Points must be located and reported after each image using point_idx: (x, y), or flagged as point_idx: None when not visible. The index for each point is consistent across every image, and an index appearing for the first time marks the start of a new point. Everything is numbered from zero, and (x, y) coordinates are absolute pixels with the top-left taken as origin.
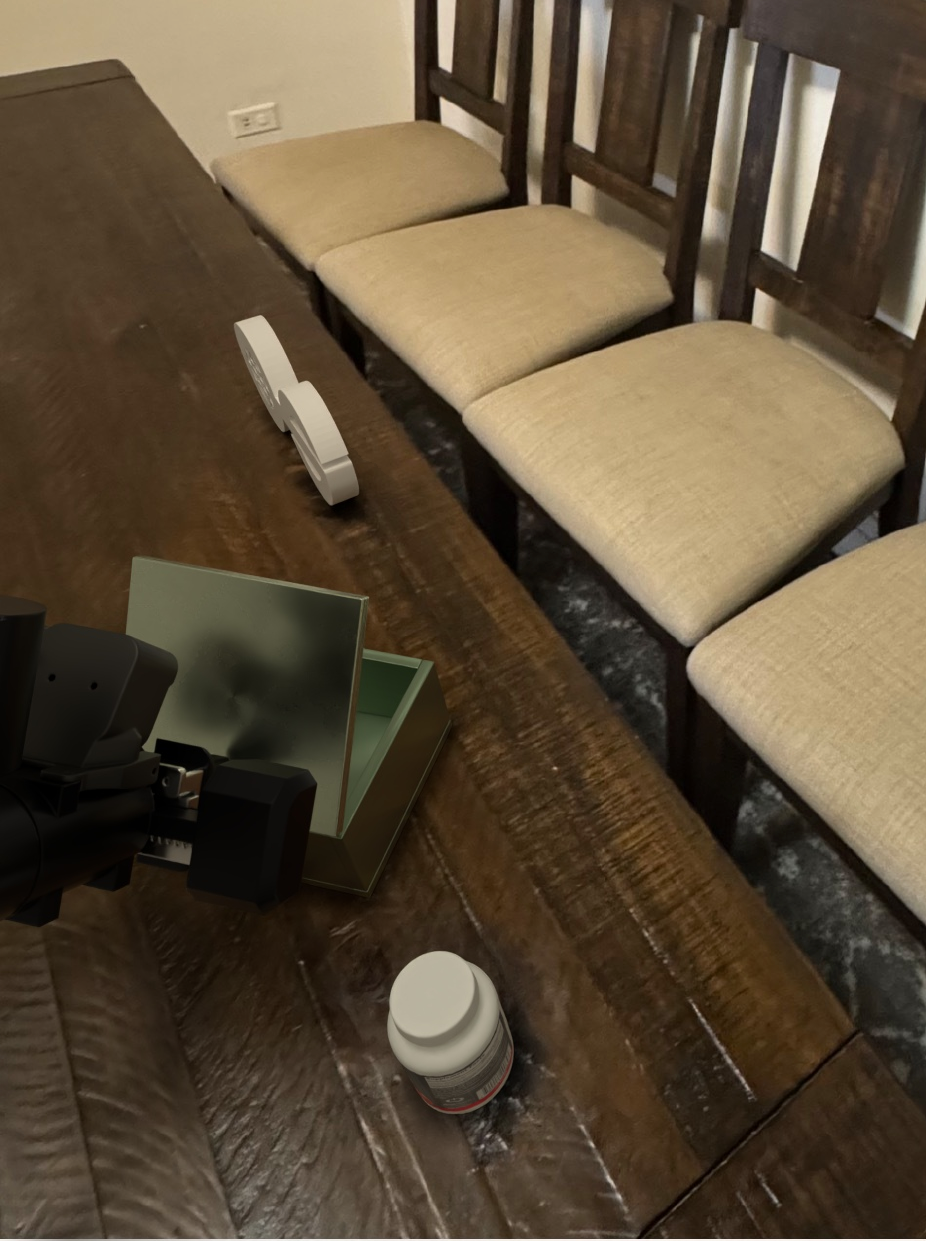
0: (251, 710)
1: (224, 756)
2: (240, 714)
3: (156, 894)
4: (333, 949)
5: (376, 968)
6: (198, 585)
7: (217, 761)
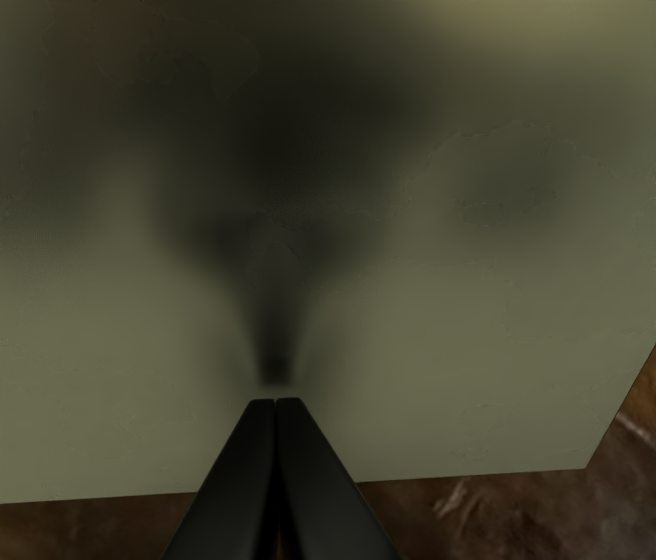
0: (350, 242)
1: (291, 401)
2: (306, 263)
3: (106, 536)
4: (455, 537)
5: (536, 546)
6: None
7: (350, 478)
